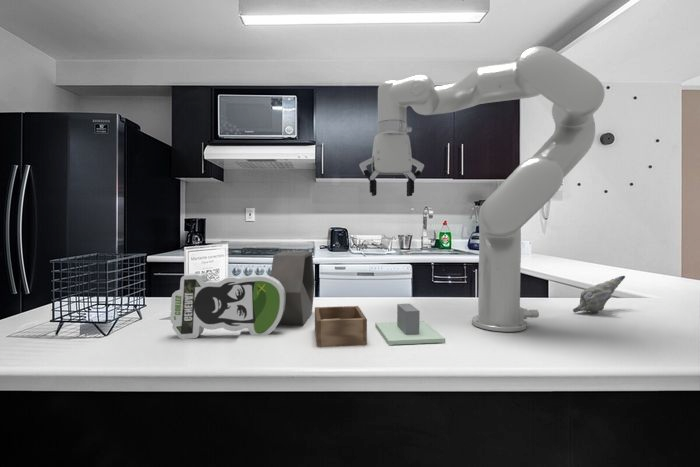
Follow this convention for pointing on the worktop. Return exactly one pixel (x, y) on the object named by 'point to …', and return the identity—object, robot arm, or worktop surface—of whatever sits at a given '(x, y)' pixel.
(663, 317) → the worktop surface
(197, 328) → the cutout
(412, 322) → the lid
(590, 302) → the seashell
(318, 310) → the wooden box
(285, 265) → the planter
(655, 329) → the worktop surface
